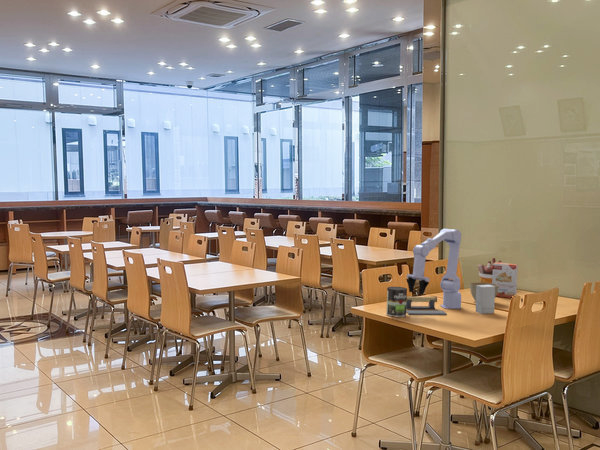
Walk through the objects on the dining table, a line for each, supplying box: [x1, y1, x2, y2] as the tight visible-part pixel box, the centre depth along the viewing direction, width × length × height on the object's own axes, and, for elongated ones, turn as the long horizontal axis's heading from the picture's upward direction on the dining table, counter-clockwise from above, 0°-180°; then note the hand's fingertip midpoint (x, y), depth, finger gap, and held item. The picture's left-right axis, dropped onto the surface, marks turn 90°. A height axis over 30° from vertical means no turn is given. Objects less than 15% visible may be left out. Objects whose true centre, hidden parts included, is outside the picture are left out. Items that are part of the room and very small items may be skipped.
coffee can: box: [385, 286, 408, 318], centre depth 295 cm, size 10×10×14 cm
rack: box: [406, 300, 436, 311], centre depth 312 cm, size 16×4×5 cm, turn 94°
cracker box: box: [492, 262, 519, 299], centre depth 354 cm, size 14×6×21 cm, turn 59°
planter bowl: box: [469, 282, 499, 303], centre depth 333 cm, size 16×16×11 cm
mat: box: [406, 309, 447, 316], centre depth 300 cm, size 20×7×1 cm, turn 94°
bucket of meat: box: [477, 257, 502, 283], centre depth 384 cm, size 20×16×20 cm
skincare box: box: [475, 285, 496, 315], centre depth 305 cm, size 8×6×15 cm
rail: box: [406, 296, 438, 303], centre depth 312 cm, size 18×3×3 cm, turn 94°
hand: (416, 293), depth 300 cm, fingers open, 7 cm apart
